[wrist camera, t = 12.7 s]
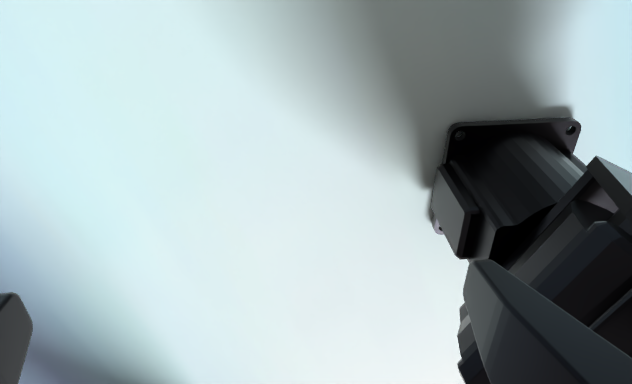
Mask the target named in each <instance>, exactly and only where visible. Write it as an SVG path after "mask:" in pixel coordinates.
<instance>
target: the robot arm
mask: <svg viewBox="0 0 632 384" xmlns="http://www.w3.org/2000/svg"><path fill="white" fill-rule="evenodd" d="M570 126H572V127H571V129H570V130H568V131H566V130H567V128H568V127H570ZM459 131H463V132H462V134H461V135H460V136H458V137H455V135H456V133H458V132H459ZM580 131H581V125H580V123H579V122H577V121H576V120H575V119H573V118H551V119H529V120H507V121H485V122H464V123H456V124H454V125H452V126H451V127H450V128H449V129H448V132H447V137H446V143H445V149H444V155H443V161H442V164H440V165H439V167H438V168H437V171H436V177H435V183H434V190H433V196H432V202H431V209H432V211H433V213H434V216H433V222H432V226H433V228H434V230H435V232H436V233H437V234H442V235H443V234H445V236H446V238H447V240H448V242H449V244H450V246H451V248H452V250H453V252H454V254H455V255H456V256H457V257H458V258H459V259H467V260H468V262H469V267H468V271H467V275H466V279H465V284H464V288H463V296H464V301H465V303H464V304H463V305H462V306H461V307H460V322H461V324H460V328H459V331H458V335H457V337H458V343H459V348H460V354H461V357H462V359H461V360H460V361H459V362H458V369H459V373H460V375H461V377H462V379H463V381H464V383H465V384H632V173H631V172H629V171H627V170H625V169H623V168H621V167H619V166H617V165H615V164H613V163H611V162H608V161H606V160H604V159H602V158H600V157H598V156H595V157H594V158H593V160H592V161H591V162H590V163H589V164H588V165H587V166H586V165H585V164H584V163H583V162H581V161H580V160H579V159H578V158H577V157H576V156H575V155H573V152H574V149H575V146H576V143H577V140H578V137H579V134H580ZM440 226H441V227H440ZM32 331H33V324H32V320H31V318H30V316H29V314H28V312H27V310H26V308H25V306H24V304H23V302H22V300H21V298H20V296H19V295H18V294H16V293H13V292H10V293H0V384H18V383H19V379H20V376H21V372H22V368H23V365H24V361H25V357H26V354H27V350H28V346H29V343H30V339H31V336H32Z"/></svg>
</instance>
